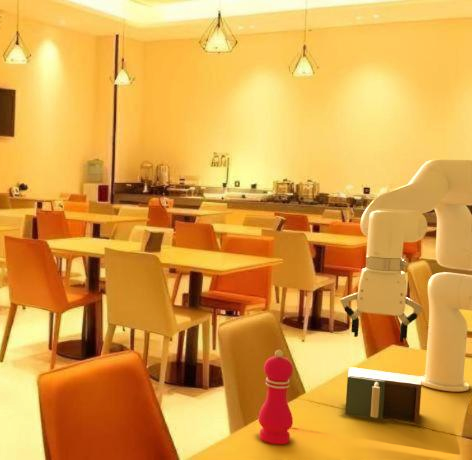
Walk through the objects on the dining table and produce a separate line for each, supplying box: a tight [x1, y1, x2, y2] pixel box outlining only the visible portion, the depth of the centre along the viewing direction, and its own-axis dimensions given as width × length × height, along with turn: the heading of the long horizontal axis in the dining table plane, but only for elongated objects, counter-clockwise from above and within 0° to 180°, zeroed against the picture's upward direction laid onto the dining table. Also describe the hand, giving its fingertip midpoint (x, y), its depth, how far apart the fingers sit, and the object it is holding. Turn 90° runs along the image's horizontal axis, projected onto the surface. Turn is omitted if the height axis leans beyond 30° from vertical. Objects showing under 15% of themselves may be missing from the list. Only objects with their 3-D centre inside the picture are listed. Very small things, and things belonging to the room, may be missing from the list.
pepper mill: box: [257, 349, 294, 445], centre depth 165 cm, size 7×7×20 cm
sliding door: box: [344, 375, 385, 421], centre depth 178 cm, size 7×8×10 cm
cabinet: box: [347, 367, 423, 424], centre depth 183 cm, size 8×16×10 cm, turn 65°
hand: (378, 338), depth 175 cm, fingers open, 9 cm apart
